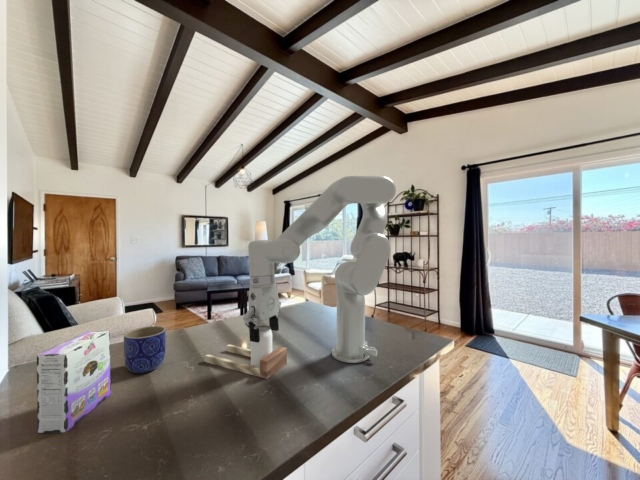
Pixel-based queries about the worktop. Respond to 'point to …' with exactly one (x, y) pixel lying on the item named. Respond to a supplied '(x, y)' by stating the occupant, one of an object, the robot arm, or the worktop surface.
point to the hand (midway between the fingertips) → (265, 335)
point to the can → (261, 345)
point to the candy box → (72, 380)
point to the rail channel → (266, 369)
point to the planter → (144, 348)
